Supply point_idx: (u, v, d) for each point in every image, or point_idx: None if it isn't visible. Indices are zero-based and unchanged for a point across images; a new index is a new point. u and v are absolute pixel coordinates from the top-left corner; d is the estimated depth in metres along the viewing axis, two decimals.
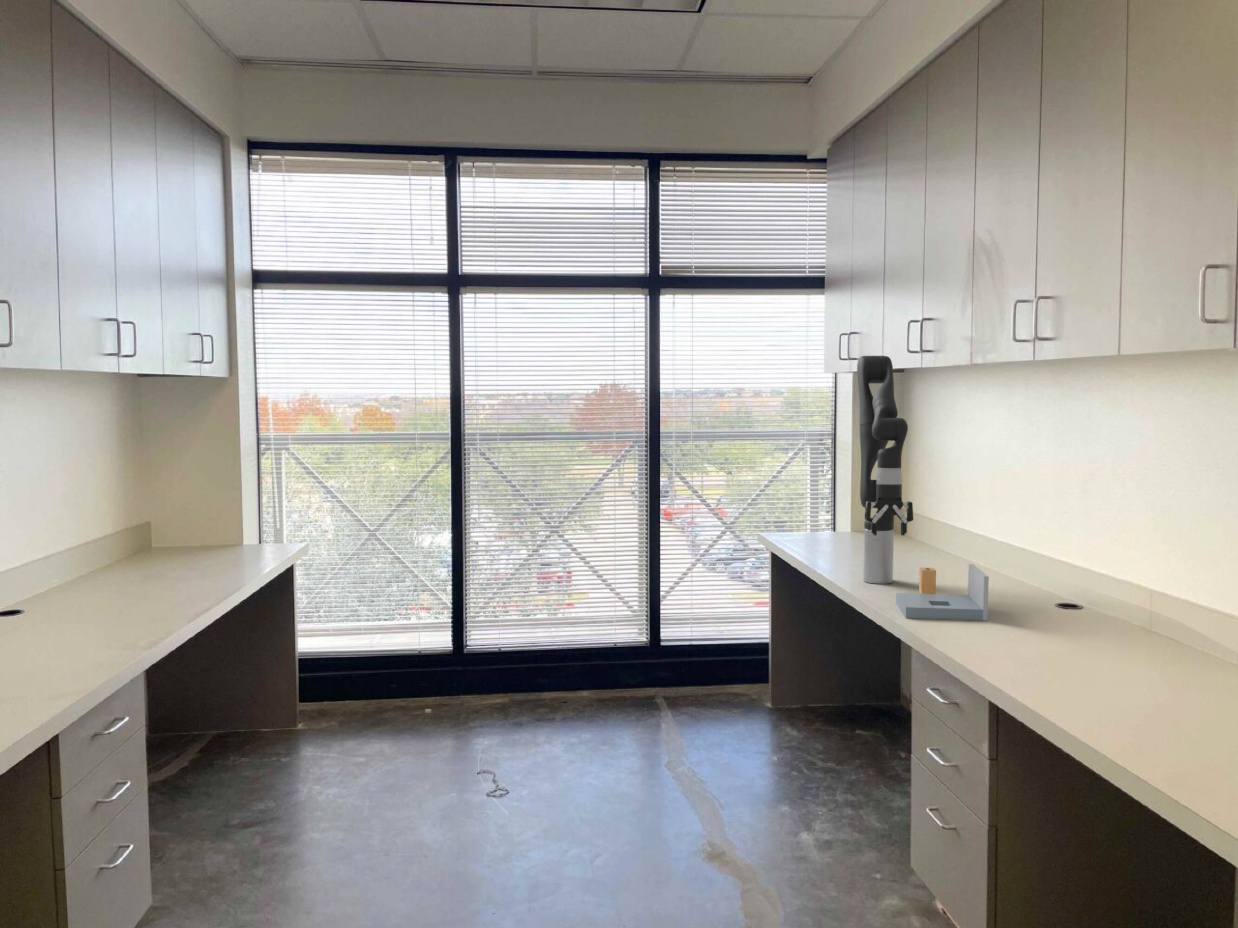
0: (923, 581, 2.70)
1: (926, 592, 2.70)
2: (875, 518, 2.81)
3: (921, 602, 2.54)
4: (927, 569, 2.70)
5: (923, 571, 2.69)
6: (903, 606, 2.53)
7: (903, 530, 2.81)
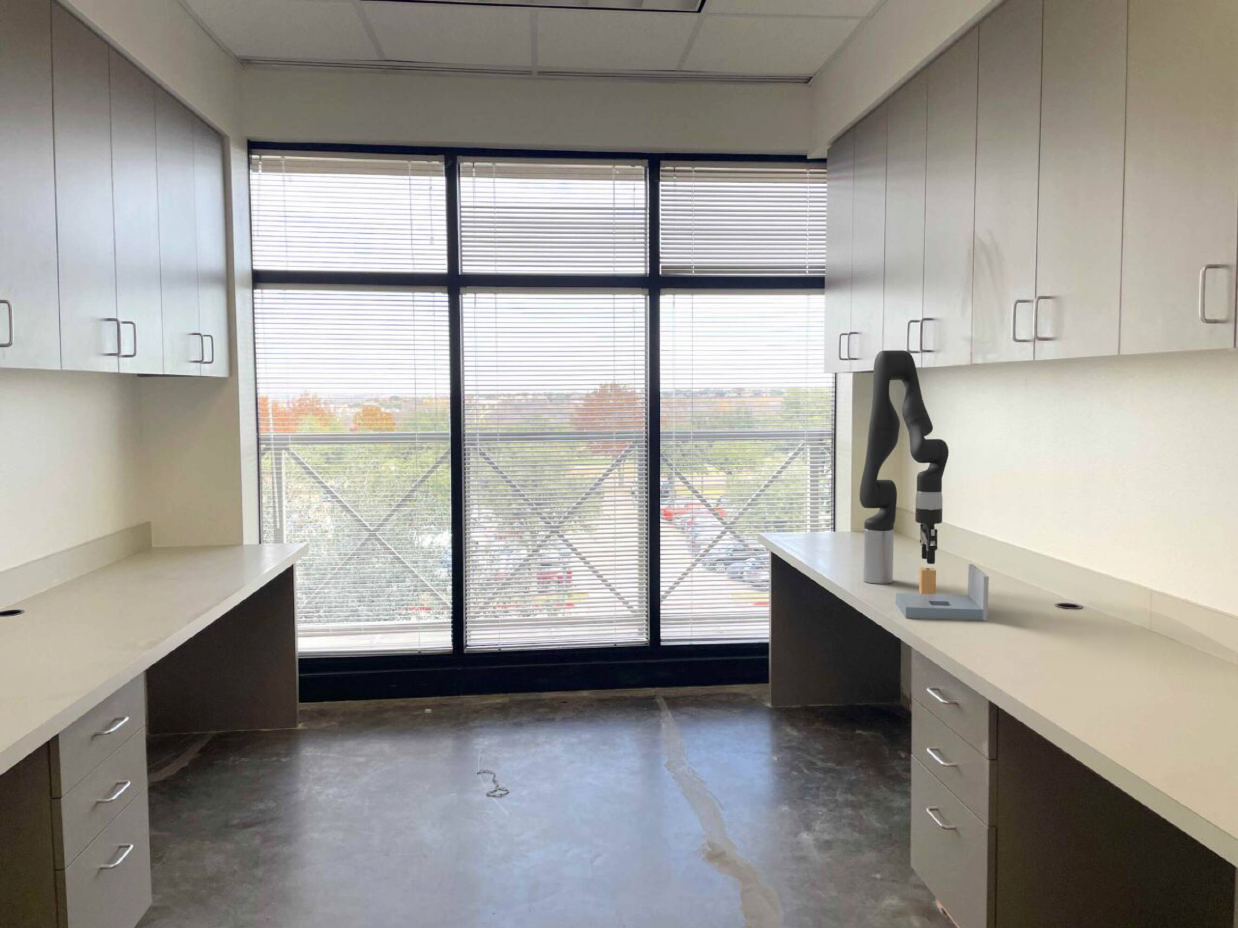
0: (923, 581, 2.70)
1: (926, 592, 2.70)
2: (935, 545, 2.66)
3: (921, 602, 2.54)
4: (927, 569, 2.70)
5: (923, 571, 2.69)
6: (903, 606, 2.53)
7: None
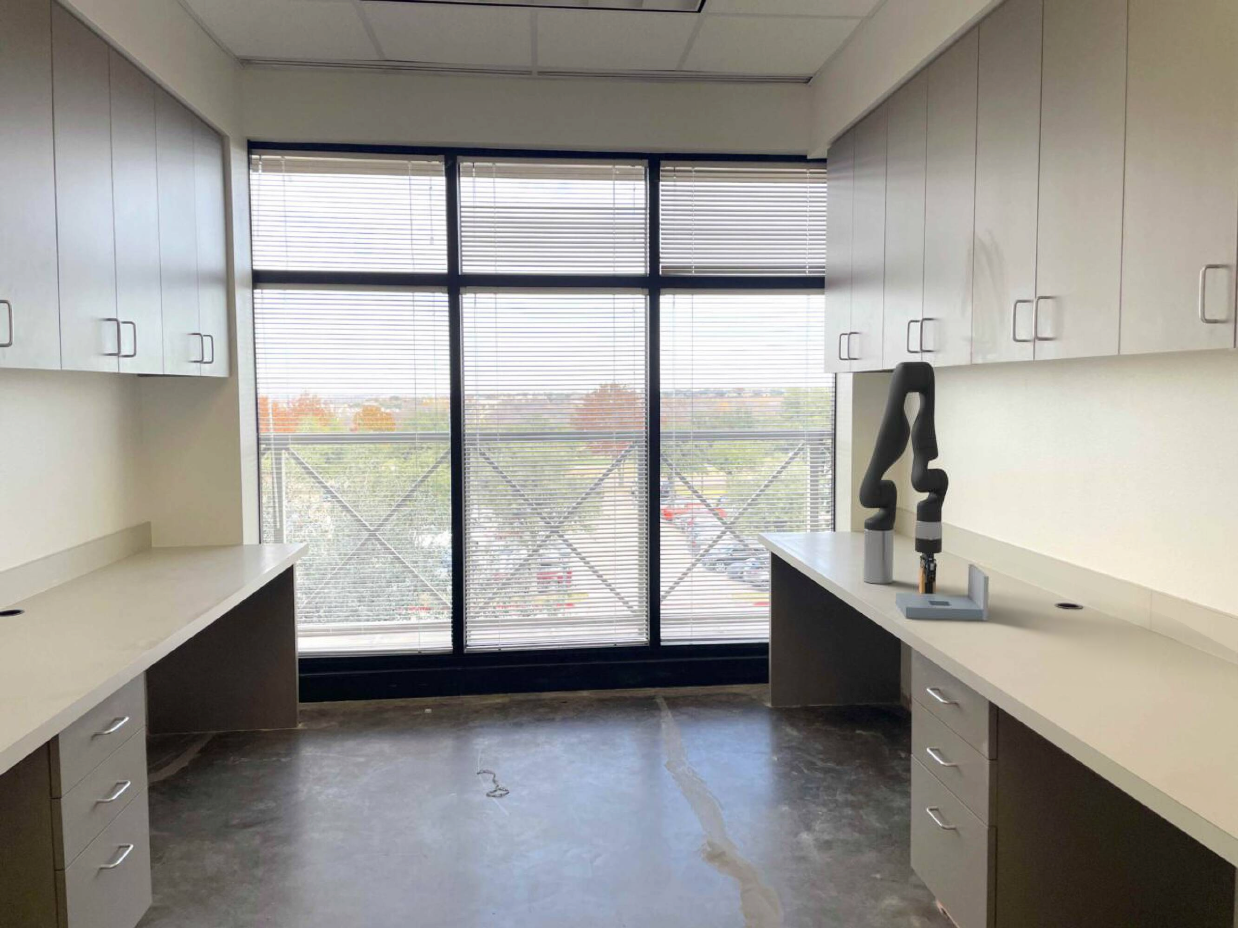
0: (923, 581, 2.70)
1: None
2: None
3: (921, 602, 2.54)
4: None
5: None
6: (903, 606, 2.53)
7: None
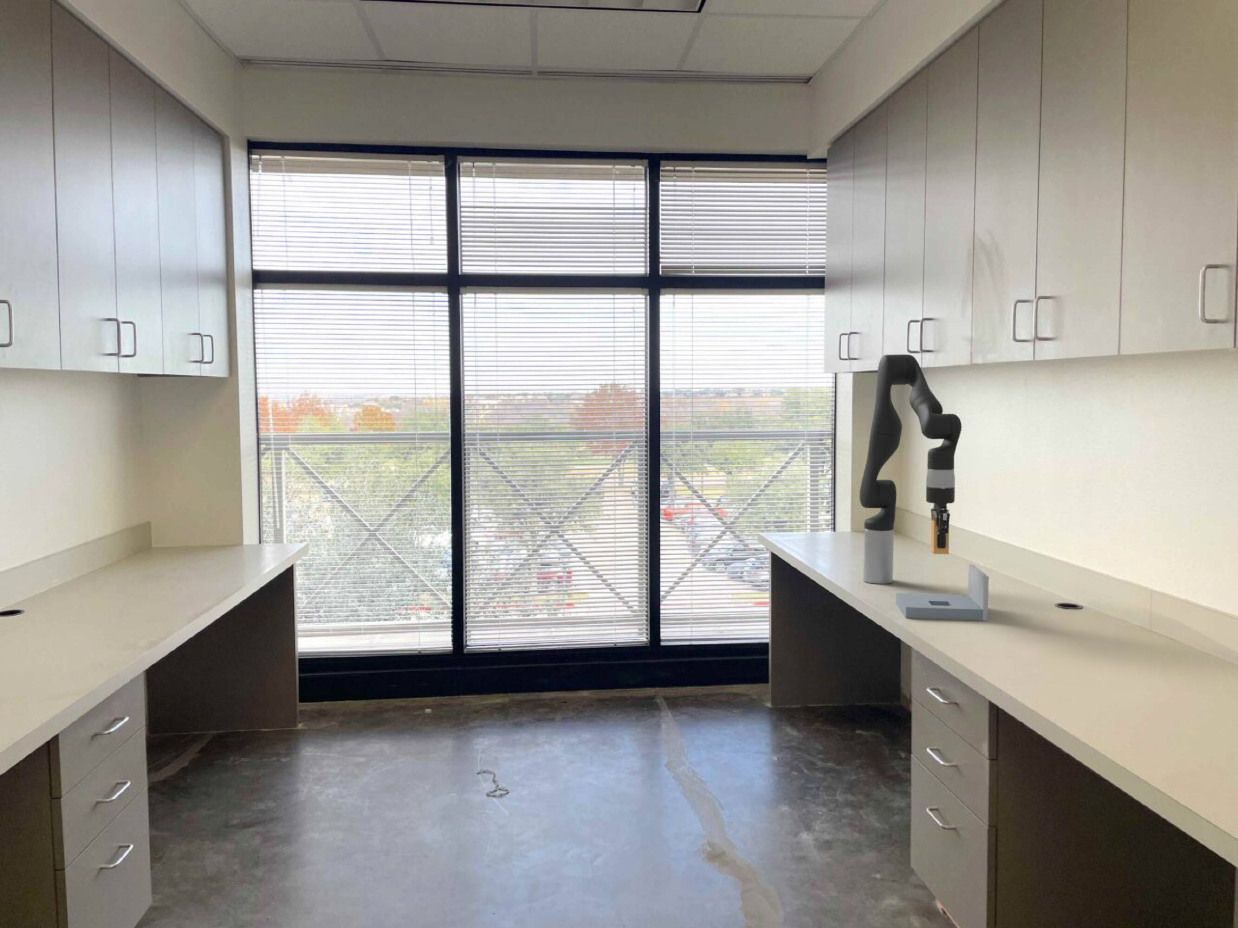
0: (935, 533, 2.53)
1: None
2: (946, 529, 2.52)
3: (921, 602, 2.54)
4: None
5: None
6: (903, 606, 2.53)
7: None
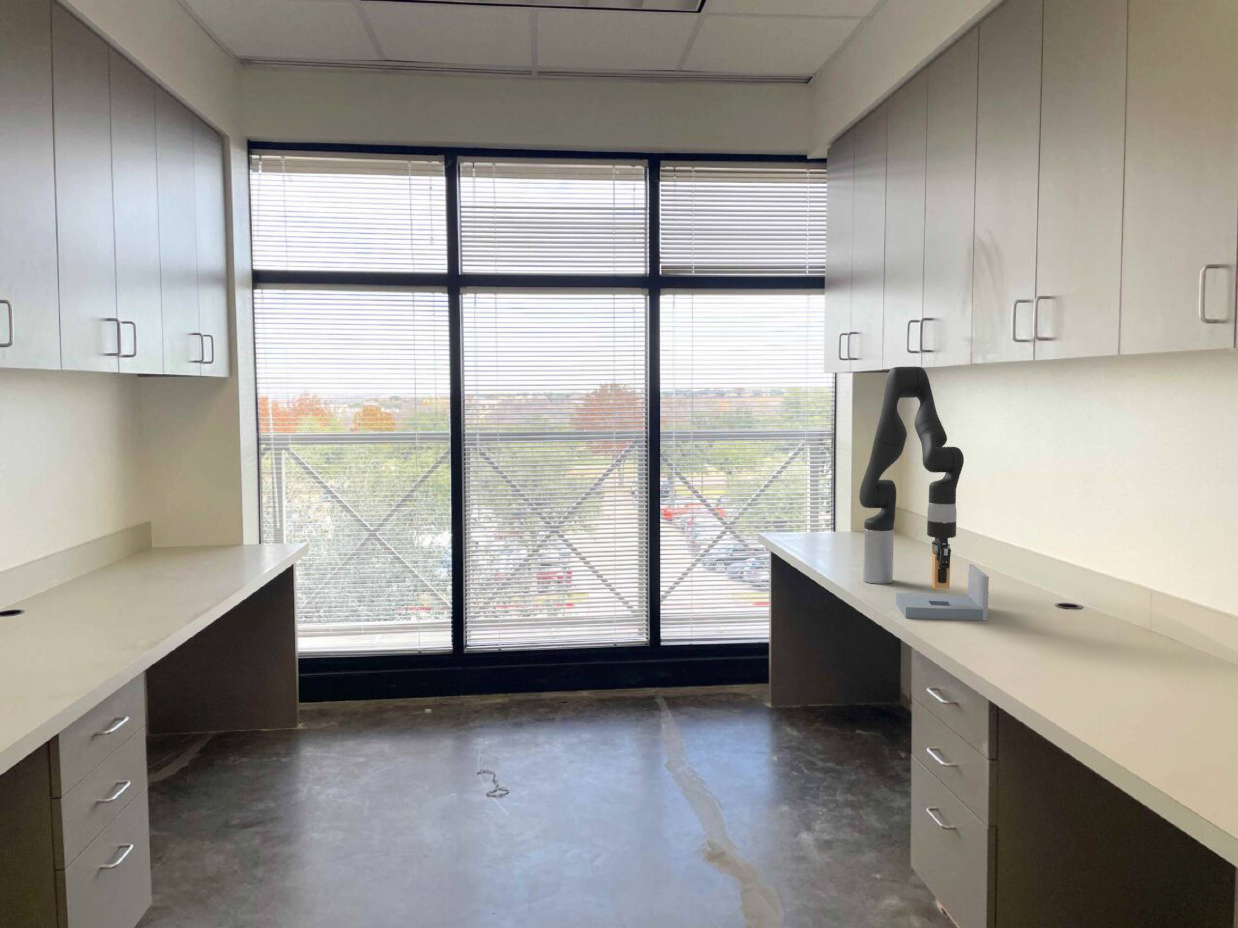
0: (936, 568, 2.50)
1: None
2: (947, 563, 2.49)
3: (921, 602, 2.54)
4: None
5: None
6: (903, 606, 2.53)
7: None
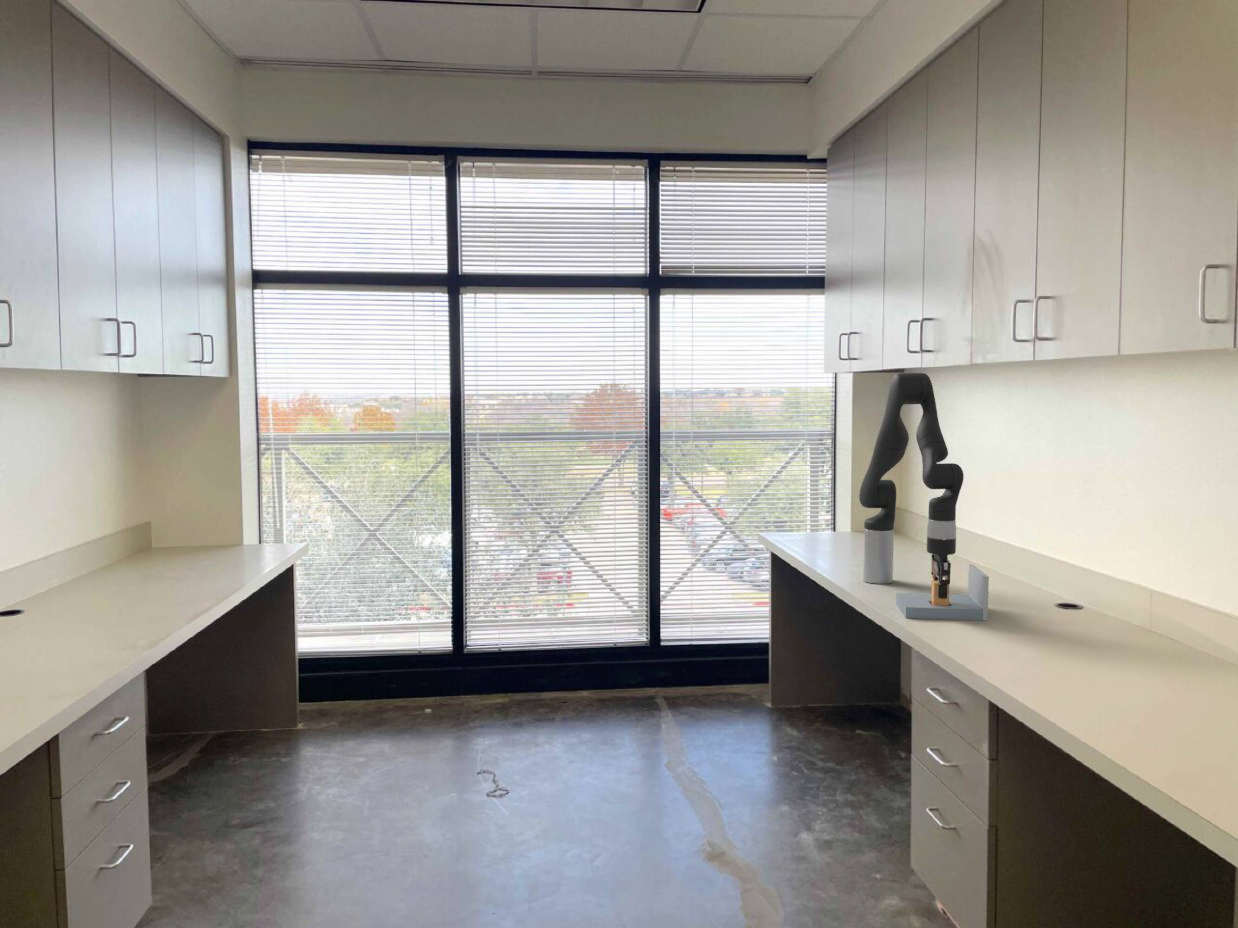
0: (935, 595, 2.51)
1: None
2: None
3: (921, 602, 2.54)
4: None
5: (935, 584, 2.51)
6: (903, 606, 2.53)
7: None
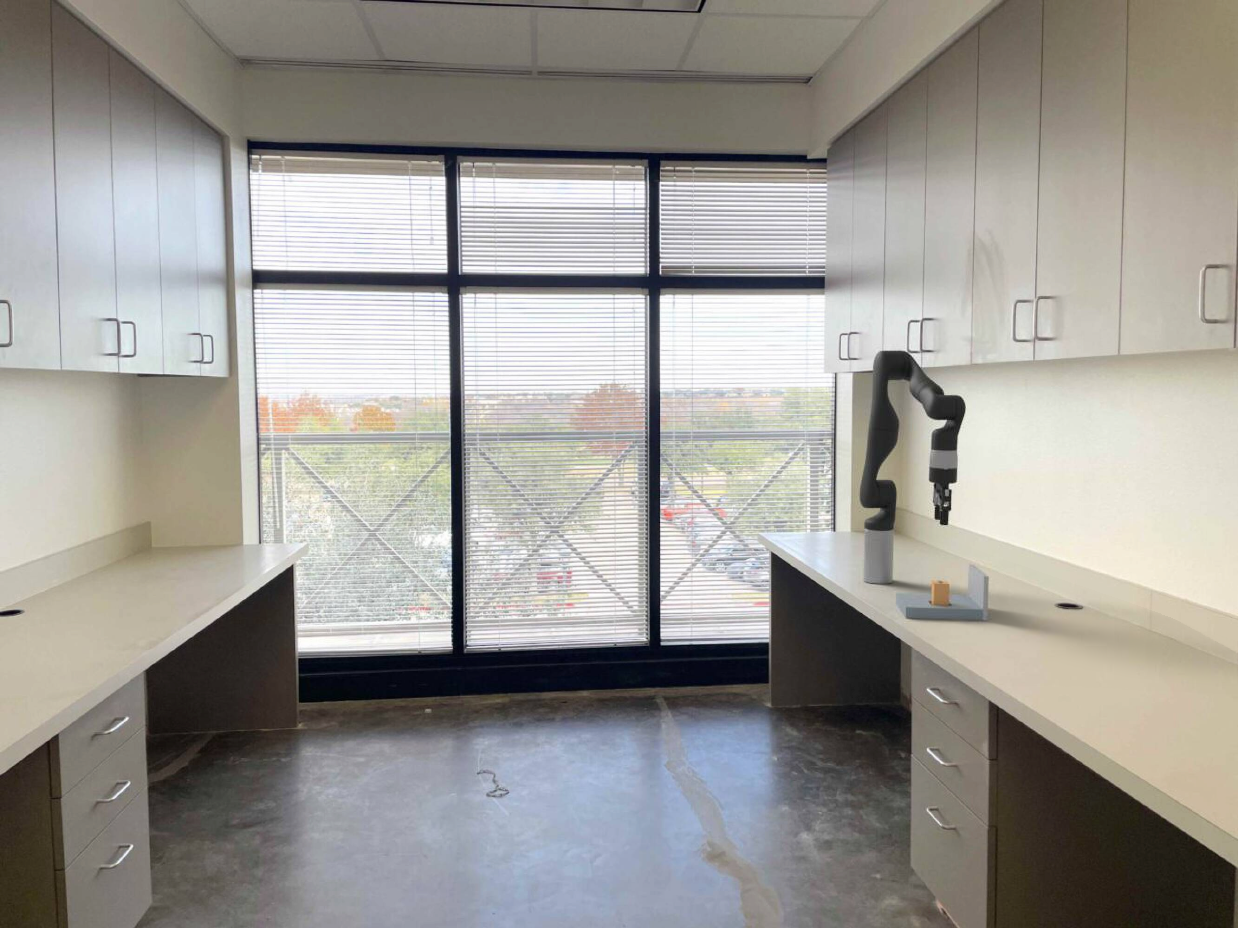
0: (935, 595, 2.51)
1: None
2: None
3: (921, 602, 2.54)
4: (940, 582, 2.51)
5: (935, 584, 2.51)
6: (903, 606, 2.53)
7: None
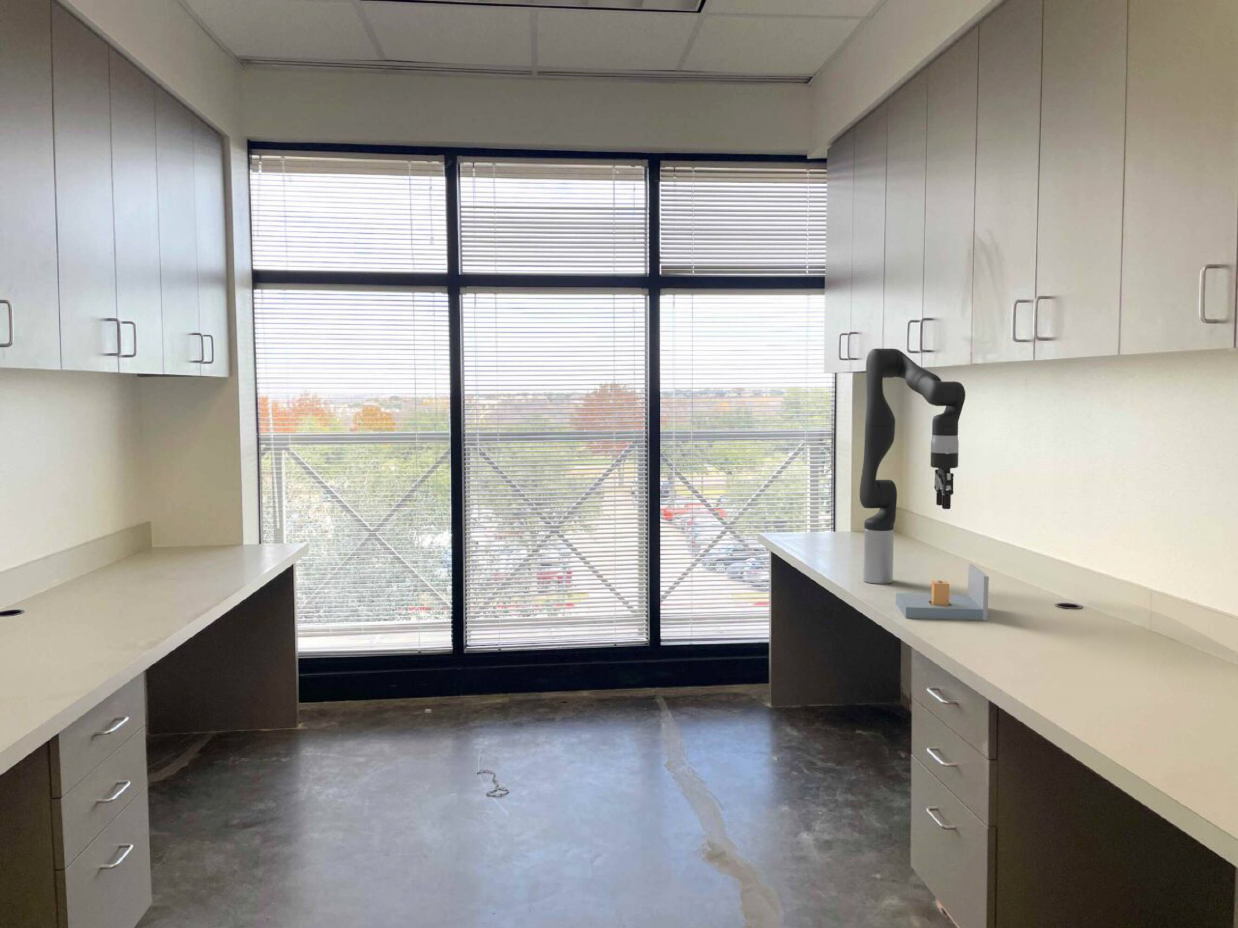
0: (935, 595, 2.51)
1: None
2: None
3: (921, 602, 2.54)
4: (940, 582, 2.51)
5: (935, 584, 2.51)
6: (903, 606, 2.53)
7: None
